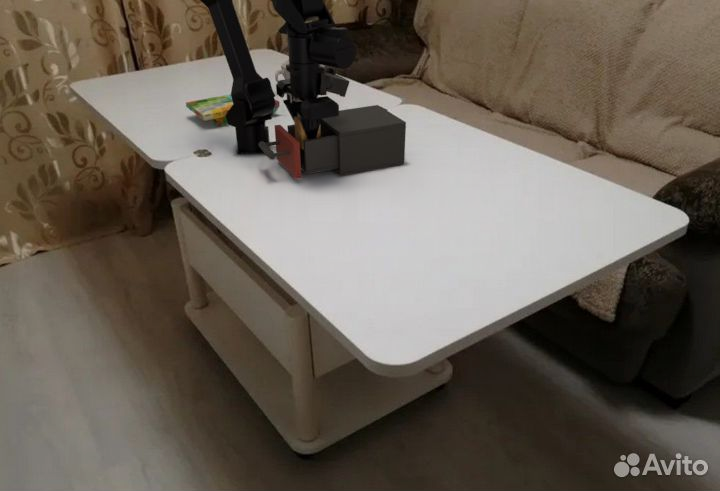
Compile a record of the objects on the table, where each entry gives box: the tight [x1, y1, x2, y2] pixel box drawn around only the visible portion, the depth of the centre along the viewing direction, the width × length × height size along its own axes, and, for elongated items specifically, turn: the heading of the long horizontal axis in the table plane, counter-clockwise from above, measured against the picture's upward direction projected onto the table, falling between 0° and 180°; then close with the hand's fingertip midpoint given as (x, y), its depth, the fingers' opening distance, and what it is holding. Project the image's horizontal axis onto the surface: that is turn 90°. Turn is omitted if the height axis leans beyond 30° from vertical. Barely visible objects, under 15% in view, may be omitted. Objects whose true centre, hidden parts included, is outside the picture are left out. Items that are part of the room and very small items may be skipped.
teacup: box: [274, 59, 325, 84], centre depth 168 cm, size 15×12×8 cm
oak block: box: [293, 116, 321, 149], centre depth 118 cm, size 4×4×6 cm
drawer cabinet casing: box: [321, 104, 407, 177], centre depth 124 cm, size 15×13×9 cm
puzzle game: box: [185, 93, 281, 127], centre depth 149 cm, size 12×5×20 cm
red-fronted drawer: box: [258, 122, 339, 180], centre depth 119 cm, size 18×11×7 cm, turn 115°
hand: (307, 140), depth 119 cm, fingers closed on oak block, 4 cm apart
